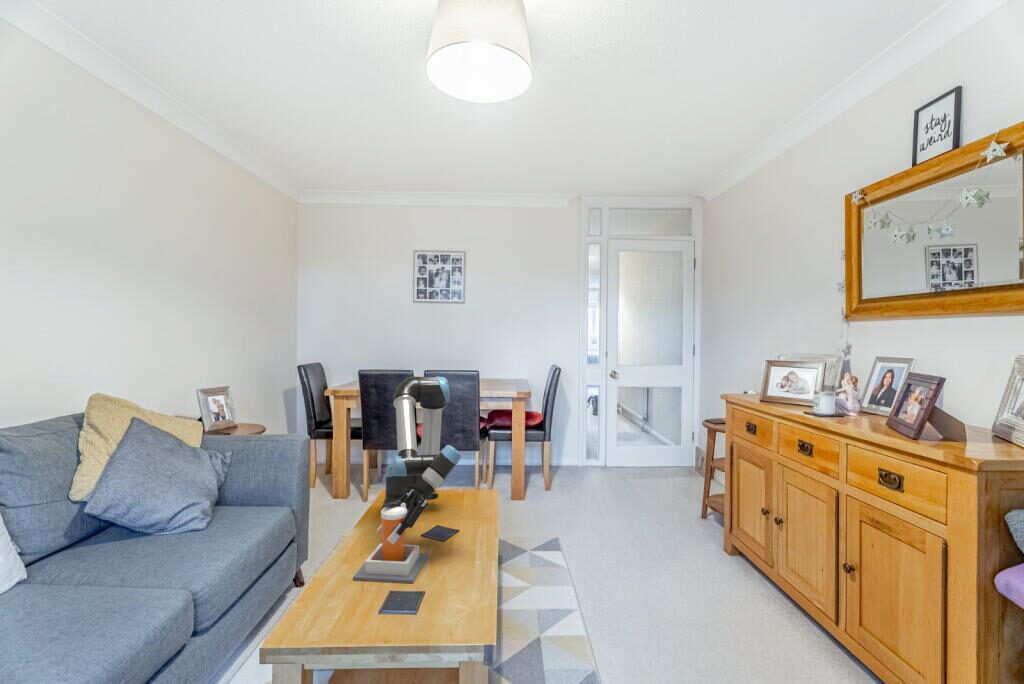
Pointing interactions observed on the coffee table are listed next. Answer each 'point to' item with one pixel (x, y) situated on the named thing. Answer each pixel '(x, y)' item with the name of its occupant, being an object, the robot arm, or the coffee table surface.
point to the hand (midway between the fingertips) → (384, 537)
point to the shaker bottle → (390, 520)
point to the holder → (393, 566)
